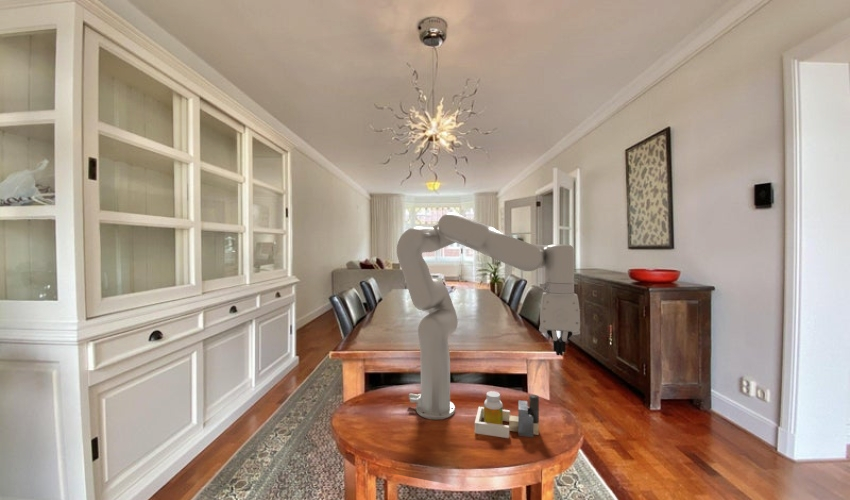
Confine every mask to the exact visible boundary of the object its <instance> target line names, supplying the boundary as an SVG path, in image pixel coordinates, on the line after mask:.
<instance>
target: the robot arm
mask: <svg viewBox="0 0 850 500" xmlns="http://www.w3.org/2000/svg"><path fill="white" fill-rule="evenodd" d="M453 244H458V245H461V246H464V247H466V248H469V249H471V250H473V251H476V252H478V253H481V254H482V255H484V256H487V257H489V258H491V259H495V260H497V261H499V262H500V263H503V264H506V265H508V266H510V267H513V268H516V269H518V270H520V271H524V272H533V271H536V270H539V269H544V283H540V284H539V289H541V290H543V291H544V292H542V295H541V302H540V309H539V310H540V311H539V321H540V322H539V323H540V324H539V329H538V330H539V332H540V333H543V334H547V335H548V336H549V337H550V338H551V339H552V342H553V352H555V354H556V356H562V357H564V353H566V342H567V341H568V339H570V338H571V337H572V336H576V335H577V336H578V335H581V312H580V311H581V310H580V303H579V296H578V294H577V293H575V248H574V247H573V245H570V244H549V245H548V244H547V245H546V244H545V245H543V244H537V243H529V242H527V241H524V240H521V239H518V238H515V237H513V236H511V235H507V234H505V233H503V232H500V231H499V230H497V228H496V227H494V226H491V225H489V224H485V223H483V222H479V221H477V220H475V219H471V218H469V217H466V216H464V215H462V214H460V213H456V212H447V213H445V214H443V215H442V216H441V217H440V218H439V220H438V222H437V224H435V225H433V226H429V227H425V226H413V227H410V228H408V229H407V230H405V231H404V232H403V233H402V234H401V235H400V237H399V239H398V241H397V244H396V255H397V257H396V258H397V261H398V263H399V266H400V268H401V271H402V274H403V278H404V281H405V283H406V286H407V290H408V294H409V296H410V298H411V302H412V305H413V306H414V308H416V309H417V310H418V311H428V314H427V315H425V316H424V317H423V318H422V319H421V320H420V322H419V324H418V328H417V335H418V341H419V350H420V351H419V352H420V393H418V394H416V393H412V392H410V393H408V400H409V402H410V403H412V404H416V406H415V411H416V413H417V414H418V416H420V417H422V418H425V419H427V420H436V421H437V420H445V419H448V418H450V417H452V416H453V415H454V414H455V411H456V405H455V404H454V403H453V402H452V401H451V352H450V346H449V341H448V340H449V337H450V336H451V335H452V334H454V333H455V332H456V330H457V328H458V325H459V321H458V320H459V319H458V315H457V313H456V310H455V307H454V304H453V302H452V298H451V296H450V295H451V294H450V293H449V290H448V288H447V286H446V285H445V283H443V282H442V281H441V280H439V279H436V278H433V277H432V275H431V272H430V269H429V267H428V264H427V263H426V261H425V259H424V257H423V253H432V252H437V251H439V250H441V249H443V248H446V247H449V246H451V245H453ZM557 332H561V334H560V337H559V336H558V333H557Z"/></svg>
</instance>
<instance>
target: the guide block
mask: <svg viewBox="0 0 850 500" xmlns="http://www.w3.org/2000/svg"><path fill="white" fill-rule="evenodd" d="M517 413H518V415H517V416H518V432H517V433H518V436H519V437H520V436H521V437H527V438H534V434H533V415H529V406H528V400H520V399H519V400H518V411H517Z"/></svg>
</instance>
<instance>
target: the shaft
mask: <svg viewBox="0 0 850 500" xmlns="http://www.w3.org/2000/svg"><path fill="white" fill-rule="evenodd" d="M528 397H529V398H528V405H529V406H528V407H529V415H533V435H535V436H536V435H537V436H539V434H540V432H539V431H540V430H539V427H540V426H539V425H540V424H539V422H540V421H539V420H540V419H539V417H540V413H539V412H540V409H539V408H540V404H539V403H540V402H539V401H540V397H539V396H538V395H537V394H530V395H529V396H528ZM508 426H509V432H515V433H516V432H517V433H518V415H512V414H510V418H509V424H508Z"/></svg>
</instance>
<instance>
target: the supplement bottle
mask: <svg viewBox="0 0 850 500" xmlns="http://www.w3.org/2000/svg"><path fill="white" fill-rule="evenodd" d="M485 395H486V399H485V400H484V403H483V407H484V418H483V422H486V423H493V424H500V425H504V424H503V423H504V421H503V410H504V409H503V407H504V405H503V402H502V401H501V393H499V392H498V391H494V390H493V391H491V390H490V391H487V392H486V394H485Z"/></svg>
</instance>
